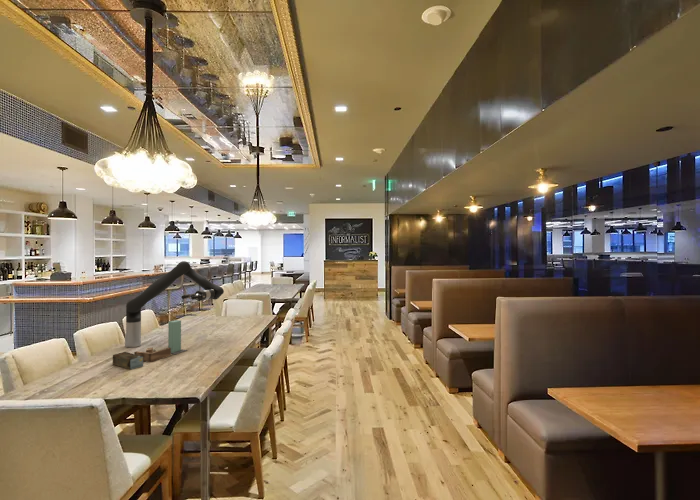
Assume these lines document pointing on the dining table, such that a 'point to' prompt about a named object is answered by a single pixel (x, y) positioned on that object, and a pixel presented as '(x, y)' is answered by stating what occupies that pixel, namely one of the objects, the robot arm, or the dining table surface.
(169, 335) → the tall teal pillar
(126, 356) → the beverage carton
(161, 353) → the frame
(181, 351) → the pad
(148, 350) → the offcut top
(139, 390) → the dining table surface
